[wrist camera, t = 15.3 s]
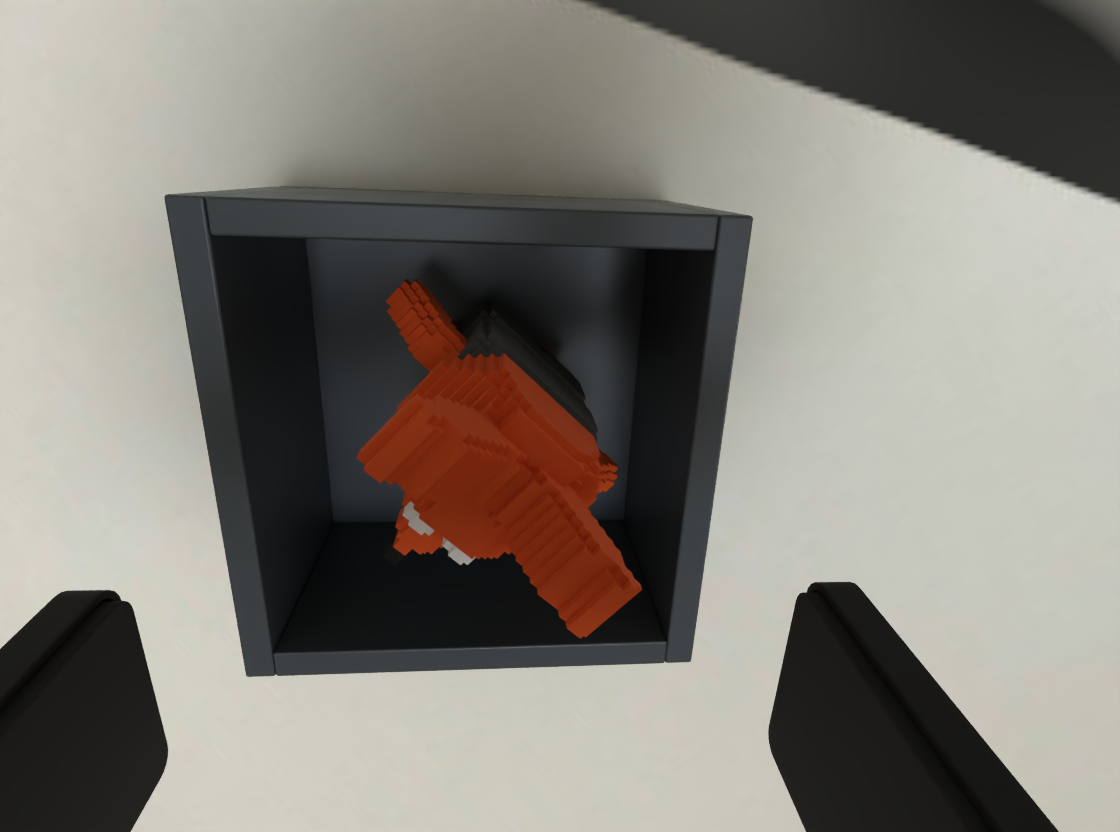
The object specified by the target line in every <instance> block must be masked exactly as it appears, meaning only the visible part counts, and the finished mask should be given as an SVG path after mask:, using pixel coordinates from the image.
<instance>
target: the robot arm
mask: <svg viewBox="0 0 1120 832" xmlns="http://www.w3.org/2000/svg"><path fill="white" fill-rule="evenodd" d="M769 744H770V748H771V752H772V755H773V757H774V760H775V762H776V764H777V767H778V769H779V771H780V773H781V776H782V778H783V780H784V782H785V785H786V787H787V789H788V792H789V794H790V796H791V798H792V801H793V803H794V805H795V807H796V810H797V812H798V814H799V816H800V819H801V821H802V823H803V826H804V828H805V830H806V832H1059V831H1058V830H1057V829H1056V828H1055V826H1054V825H1053V824H1052V823H1051V822H1050V820H1049V819H1048V818H1047V817H1046V815H1045V814H1044V813H1043V812H1042V811H1041V809H1040V808H1039V807H1038V806H1037V804H1036V803H1035V802H1034V801H1033V800H1032V798H1031V797H1030V796H1029V795H1028V793H1027V792H1026V791H1025V790H1024V788H1023V787H1022V786H1021V785H1020V784H1019V782H1018V781H1017V780H1016V779H1015V777H1014V776H1013V775H1012V774H1011V773H1010V771H1009V770H1008V769H1007V768H1006V766H1005V765H1004V764H1003V763H1002V762H1001V760H1000V759H999V758H998V757H997V755H996V754H995V753H994V752H993V751H992V749H991V748H990V747H989V746H988V744H987V743H986V742H985V741H984V739H983V738H982V737H981V736H980V735H979V733H978V732H977V731H976V730H975V728H974V727H973V726H972V725H971V724H970V722H969V721H968V720H967V719H966V717H965V716H964V715H963V714H962V713H961V711H960V710H959V709H958V708H957V706H956V705H955V704H954V703H953V701H952V700H951V699H950V698H949V697H948V695H947V694H946V693H945V692H944V690H943V689H942V688H941V687H940V686H939V684H938V683H937V682H936V681H935V679H934V678H933V677H932V676H931V675H930V673H929V672H928V671H927V670H926V668H925V667H924V666H923V665H922V664H921V662H920V661H919V660H918V659H917V657H916V656H915V655H914V654H913V652H912V651H911V650H910V649H909V648H908V646H907V645H906V644H905V643H904V641H903V640H902V639H901V638H900V637H899V635H898V634H897V633H896V632H895V630H894V629H893V628H892V627H891V626H890V624H889V623H888V622H887V621H886V619H885V618H884V617H883V616H882V615H881V613H880V612H879V611H878V610H877V608H876V607H875V606H874V605H873V603H872V602H871V601H870V600H869V599H868V597H867V596H866V595H865V594H864V592H863V591H862V590H861V589H860V588H859V587H858V586H857V585H856V584H855V583H852V582H815V583H812V584H811V585H810V586H809V588H808V590H807V593H800V594H799V595H798V597H797V600H796V604H795V608H794V613H793V618H792V622H791V627H790V631H789V636H788V641H787V645H786V650H785V655H784V659H783V664H782V669H781V673H780V678H779V683H778V687H777V692H776V696H775V701H774V706H773V710H772V715H771V720H770V724H769ZM167 757H168V746H167V741H166V737H165V733H164V729H163V725H162V721H161V717H160V713H159V709H158V705H157V701H156V698H155V694H154V690H153V686H152V682H151V678H150V674H149V670H148V666H147V662H146V658H145V654H144V650H143V646H142V642H141V638H140V634H139V630H138V626H137V622H136V618H135V615H134V611H133V608H132V606H131V604H130V603H129V602H126V601H121V599H120V596H119V595H118V594H117V593H116V592H114V591H110V590H89V591H65V592H61V593H60V594H58V595H57V596H55V597H54V598H53V599H52V600H51V601H50V602H49V603H48V604H47V605H46V606H45V607H44V608H42V609H41V610H40V611H39V612H38V613H37V614H36V615H35V616H34V617H33V618H32V619H31V620H30V621H29V622H28V623H27V624H26V625H25V626H24V627H23V628H22V629H21V630H20V631H19V632H17V633H16V634H15V635H14V636H13V637H12V638H11V639H10V640H9V641H8V642H7V643H6V644H5V645H4V646H3V647H2V648H1V649H0V832H130V831H131V830H132V828H133V826H134V824H135V823H136V821H137V819H138V817H139V816H140V814H141V812H142V810H143V808H144V807H145V805H146V803H147V801H148V800H149V798H150V796H151V794H152V793H153V791H154V789H155V787H156V785H157V784H158V782H159V780H160V778H161V776H162V774H163V772H164V769H165V766H166V762H167Z"/></svg>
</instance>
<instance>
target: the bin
mask: <svg viewBox="0 0 1120 832" xmlns="http://www.w3.org/2000/svg"><path fill="white" fill-rule="evenodd" d="M165 204H166V209H167V215H168V221H169V227H170V233H171V239H172V245H173V250H174V256H175V262H176V268H177V274H178V280H179V285H180V291H181V297H182V303H183V309H184V315H185V320H186V326H187V332H188V338H189V344H190V350H191V355H192V361H193V367H194V373H195V379H196V385H197V391H198V396H199V402H200V408H201V414H202V420H203V426H204V431H205V437H206V443H207V449H208V455H209V461H210V466H211V472H212V478H213V484H214V490H215V496H216V501H217V507H218V513H219V519H220V525H221V531H222V537H223V542H224V548H225V554H226V560H227V566H228V572H229V577H230V583H231V589H232V595H233V601H234V607H235V612H236V618H237V624H238V630H239V636H240V642H241V647H242V653H243V659H244V665H245V671H246V676H248V677H254V676H274V675H277V676H287V675H317V674H347V673H378V672H408V671H438V670H468V669H498V668H529V667H559V666H589V665H619V664H649V663H664V661H665V662H667V663H673V662H690V661H691V657H692V649H693V642H694V635H695V628H696V621H697V614H698V607H699V599H700V592H701V585H702V578H703V571H704V564H705V557H706V550H707V542H708V535H709V528H710V521H711V514H712V507H713V500H714V492H715V485H716V478H717V471H718V464H719V457H720V450H721V443H722V435H723V428H724V421H725V414H726V407H727V400H728V393H729V385H730V378H731V371H732V364H733V357H734V350H735V343H736V336H737V328H738V321H739V314H740V307H741V300H742V293H743V286H744V278H745V271H746V264H747V257H748V250H749V243H750V236H751V229H752V221H753V218H752V217H751V216H749V215H743V214H738V213H732V212H726V211H721V210H715V209H710V208H704V207H699V206H693V205H687V204H682V203H676V202H670V201H657V200H631V199H605V198H579V197H553V196H527V195H501V194H475V193H449V192H422V191H396V190H370V189H344V188H318V187H292V186H280V187H265V188H251V189H237V190H223V191H209V192H195V193H181V194H168V195H165ZM406 279H407V280H408V281H409V282H411V283H413V282H414V281H415V280H416V279H418V280H419V281H420V282H421V283H422V284H423V285H424V286H425V287H426V288H427V289H428V290H429V291H431V292H432V293H433V294H432V295H433V296H434V297H435V298H436V299H437V302H438V303H439V304H440V305H442V308H443V309H444V310H445V311H446V312H447V315H448V316H449V317H450V318H451V319H452V321H451V323H452V324H453V325H455V324H456V323H457V322H458V323H459V324H461V323H462V322H463V321H464V320H465V319H466V318H467V317H468V316H469V315H470V314H471V313H472V312H473V311H474V310H475V309H476V308H477V307H478V306H479V305H480V304H482V302H483V301H484V300H485V301H486V302H488V303H491V302H492V301H493V300H494V301H495V302H496V303H500V304H501V305H502V306H503V307H504V308H505V309H506V310H507V312H508V313H509V314H510V315H511V316H512V317H513V318H514V319H515V320H516V321H518V322H519V323H520V324H521V325H522V326H523V327H524V328H525V329H526V330H527V331H528V332H529V334H530V338H531V339H533V340H534V342H535V344H536V345H538V346H539V347H540V348H541V349H543V348H544V347H545V348H546V349H547V350H548V351H549V352H551V353H552V355H553V356H554V357H555V358H556V359H557V360H558V361H559V362H560V363H561V364H562V365H563V366H564V367H565V368H566V369H568V370H569V371H570V372H571V373H572V374H573V375H574V376H575V378H576V379H577V380H578V381H579V382H580V384H581V387H582V389H583V392H584V394H585V397H586V398H585V399H584V400H583V401H584V403H585V405H586V407H587V408H588V409H589V410H590V411H591V413H592V415H593V418H594V421H595V423H596V426H597V428H598V431H599V432H598V433H597V434H596V436H597V439H598V442H597V443H596V444H597V447H598V449H599V450H601V451H602V452H604V453H606V454H607V455H608V456H609V457H610V458H611V459H612V460H613V461H614V462H615V463H616V464H617V466H618V470H617V471H616V473H617V475H618V477H617V478H616V479H615V480H614V483H615V484H614V485H613V486H612V487H611V488H609V489H608V490H607V491H606V492H605V491H604V490H603V491H602V492H601V493H599V492H598V494H597V495H596V499H597V500H596V501H595V502H594V503H592V504H591V505H590V506H589V507H588V509H589V510H590V512H591V515H592V516H593V517H594V518H595V519H596V520H597V521H598V524H599V526H600V527H602V528H603V529H604V530H605V532H606V535H607V536H608V537H609V538H610V539H611V540H612V541H613V544H614V546H615V547H616V548H617V549H619V550H620V551H621V555H622V558H623V561H624V564H625V567H626V568H627V569H628V570H630V571H631V572H632V574H633V577H634V579H635V580H636V581H638V582H639V583H640V585H641V588H642V590H641V591H640V592H639V593H637V594H636V595H635V596H634V597H633V598H632V599H630V600H629V601H628V602H627V603H626V604H625V605H623V606H622V607H621V608H620V609H619V610H617V611H616V612H615V613H614V614H613V615H612V616H610V617H609V618H608V619H607V620H606V621H605V622H603V623H602V624H601V625H600V626H599V627H597V628H596V629H595V630H594V631H593V632H592V633H590V634H589V635H588V636H587V637H585V636H583V637H582V638H581V639H580V638H579V637H577V636H576V635H575V634H573V633H572V632H571V631H570V630H568V629H567V627H566V622H565V621H564V620H563V619H561V618H560V617H559V613H558V610H557V609H556V608H555V607H553V606H552V605H551V604H549V603H548V602H547V601H546V600H544V599H543V598H542V597H541V596H539V595H538V593H537V588H536V587H535V586H534V585H532V584H531V583H530V577H529V576H528V575H526V574H525V573H524V572H523V566H522V565H520V564H519V563H518V562H517V561H516V555H514V554H513V553H512V552H511V553H510V554H507V553H506V552H504V553H503V554H502V555H501V556H500V557H499V558H498V559H496V558H495V557H494V558H493V559H490V558H489V557H487V558H486V559H484V558H483V557H481V558H480V559H477V558H475V559H474V560H473V561H472V562H470V563H469V564H468V565H466V564H465V563H463V564H462V565H460V564H458V563H457V562H456V561H454V560H453V559H452V558H450V557H449V556H448V550H447V549H446V548H444V547H443V548H440V547H439V548H438V549H437V550H435V551H434V552H433V553H432V554H430V553H429V552H428V551H427V552H426V553H425V554H424V553H422V554H421V555H420V554H419V553H417V552H416V551H415V550H413V549H412V550H411V551H410V552H408V553H407V554H406V555H405V556H404V557H403V558H402V559H401V560H400V561H399V562H398V563H397V564H396V565H393V564H392V563H391V562H389V561H388V560H387V559H385V558H384V557H383V554H384V551H385V548H386V547H387V546H388V545H389V544H390V543H391V542H392V541H393V540H394V539H395V538H396V535H397V531H398V529H397V528H396V527H395V525H396V522H397V519H398V515H399V512H400V510H401V509H402V508H403V507H404V506H403V505H402V501H403V498H404V494H405V491H403V490H402V487H400V486H399V485H398V484H397V483H395V482H394V483H393V484H392V485H390V484H389V483H387V482H386V481H385V480H384V481H383V482H382V483H381V484H380V483H379V482H378V481H377V480H375V479H374V478H373V477H371V476H370V475H369V474H367V473H366V472H365V471H364V470H363V469H364V466H365V465H364V464H363V463H362V462H360V461H359V460H358V459H357V456H358V454H359V452H360V450H361V448H362V447H363V446H364V445H365V444H366V443H367V442H368V441H369V440H370V439H371V438H372V437H373V436H374V435H375V434H376V433H377V432H378V431H379V430H380V429H381V428H382V427H383V426H384V425H385V424H386V423H387V422H388V421H389V420H390V419H391V418H392V417H393V416H394V414H395V413H396V412H397V411H396V410H397V408H398V405H399V404H400V403H401V402H402V401H403V400H404V399H405V398H406V397H407V396H408V395H409V394H410V393H411V392H412V391H413V390H414V388H415V387H416V386H417V385H418V384H419V383H420V382H421V381H422V380H423V379H424V378H425V377H426V376H427V375H428V374H429V370H428V369H427V368H425V367H424V366H423V365H422V364H421V363H420V362H419V361H417V360H416V359H415V358H414V357H413V356H412V355H413V353H412V352H410V351H409V350H408V349H407V348H408V346H409V344H408V343H406V342H405V341H404V337H403V336H402V335H400V334H399V332H400V330H401V329H400V328H398V327H397V326H396V325H395V324H396V322H395V321H393V320H392V319H391V317H392V316H391V315H389V314H388V313H387V310H388V309H389V308H390V307H391V306H390V305H389V304H388V303H386V300H387V299H388V298H389V297H390V296H391V295H392V294H393V293H394V292H395V291H396V289H397V288H398V287H399V286H400V285H401V284H402V283H403V282H404V281H405V280H406Z"/></svg>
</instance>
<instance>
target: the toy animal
mask: <svg viewBox="0 0 1120 832" xmlns="http://www.w3.org/2000/svg"><path fill="white" fill-rule="evenodd" d="M432 294H433V293H432V292H431V291H429V290H428V289H427V288H426V287H425V286H424V285H423V284H422V283H421V282H420V281H419V280H418V279H416V280H415V281H414V282H413V283H411V282H409V281H408V280H407V279H406V280H405V281H404V282H403V283H402V284H401V285H400V286H399V287H398V288H397V289H396V291H395V292H394V293H393V294H392V295H391V296H390V297H389V298H388V299H387V300H386V303H388V304H389V305H390V306H391V307H390V308H389V309H388V310H387V313H388V314H389V315H391V316H392V317H391V319H392V320H393V321H395V322H396V324H395V325H396V326H397V327H398V328H400V329H401V330H400V332H399V334H400V335H402V336H403V337H404V341H405V342H406V343H408V344H409V346H408V348H407V349H408V350H409V351H410V352H412V353H413V355H412V356H413V357H414V358H415V359H416V360H417V361H419V362H420V363H421V364H422V365H423V366H424V367H425V368H427V369H428V370H429V374H428V375H427V376H426V377H425V378H424V379H423V380H422V381H421V382H420V383H419V384H418V385H417V386H416V387H415V388H414V390H413V391H412V392H411V393H410V394H409V395H408V396H407V397H406V398H405V399H404V400H403V401H402V402H401V403H400V404H399V405H398V408H397V410H396V411H397V412H396V413H395V414H394V416H393V417H392V418H391V419H390V420H389V421H388V422H387V423H386V424H385V425H384V426H383V427H382V428H381V429H380V430H379V431H378V432H377V433H376V434H375V435H374V436H373V437H372V438H371V439H370V440H369V441H368V442H367V443H366V444H365V445H364V446H363V447H362V448H361V450H360V452H359V454H358V456H357V459H358V460H359V461H360V462H362V463H363V464H364V465H365V466H364V469H363V470H364V471H365V472H366V473H367V474H369V475H370V476H371V477H373V478H374V479H375V480H377V481H378V482H379V483H380V484H381V483H382V482H383V481H384V480H385V481H386V482H387V483H389V484H390V485H392V484H393V483H394V482H395V483H397V484H398V485H399V486H400V487H402V490H403V491H405V494H404V498H403V501H402V505H403V506H404V507H403V508H402V509H401V510H400V512H399V515H398V519H397V522H396V525H395V527H396V528H397V529H398V531H397V535H396V538H395V539H394V540H393V541H392V542H391V543H390V544H389V545H388V546H387V547H386V548H385V551H384V554H383V557H384V558H385V559H387V560H388V561H389V562H391V563H392V564H393V565H396V564H397V563H398V562H399V561H400V560H401V559H402V558H403V557H404V556H405V555H406V554H407V553H408V552H410V551H411V550H412V549H413V550H415V551H416V552H417V553H419V554H420V555H421V554H422V553H424V554H425V553H426V552H427V551H428V552H429V553H430V554H432V553H433V552H434V551H435V550H437V549H438V548H439V547H440V548H443V547H444V548H446V549H447V550H448V556H449V557H450V558H452V559H453V560H454V561H456V562H457V563H458V564H460V565H462V564H463V563H465V564H466V565H468V564H469V563H470V562H472V561H473V560H474V559H475V558H477V559H480V558H481V557H483V558H484V559H486V558H487V557H489V558H490V559H493V558H494V557H495V558H496V559H498V558H499V557H500V556H501V555H502V554H503V553H504V552H506V553H507V554H510V553H511V552H512V553H513V554H514V555H516V561H517V562H518V563H519V564H520V565H522V566H523V572H524V573H525V574H526V575H528V576H529V577H530V583H531V584H532V585H534V586H535V587H536V588H537V593H538V595H539V596H541V597H542V598H543V599H544V600H546V601H547V602H548V603H549V604H551V605H552V606H553V607H555V608H556V609H557V610H558V613H559V617H560V618H561V619H563V620H564V621H565V622H566V627H567V629H568V630H570V631H571V632H572V633H573V634H575V635H576V636H577V637H579V638H580V639H581V638H582V637H583V636H585V637H587V636H588V635H589V634H590V633H592V632H593V631H594V630H595V629H596V628H597V627H599V626H600V625H601V624H602V623H603V622H605V621H606V620H607V619H608V618H609V617H610V616H612V615H613V614H614V613H615V612H616V611H617V610H619V609H620V608H621V607H622V606H623V605H625V604H626V603H627V602H628V601H629V600H630V599H632V598H633V597H634V596H635V595H636V594H637V593H639V592H640V591H641V590H642V588H641V585H640V583H639V582H638V581H636V580H635V579H634V577H633V574H632V572H631V571H630V570H628V569H627V568H626V567H625V564H624V561H623V558H622V555H621V551H620V550H619V549H617V548H616V547H615V546H614V544H613V541H612V540H611V539H610V538H609V537H608V536H607V535H606V532H605V530H604V529H603V528H602V527H600V526H599V524H598V521H597V520H596V519H595V518H594V517H593V516H592V515H591V512H590V510H589V509H588V507H589V506H590V505H591V504H592V503H594V502H595V501H596V500H597V499H596V495H597V494H598V492H599V493H601V492H602V491H603V490H604V491H605V492H606V491H607V490H608V489H609V488H611V487H612V486H613V485H614V484H615V483H614V480H615V479H616V478H617V477H618V475H617V473H616V471H617V470H618V466H617V464H616V463H615V462H614V461H613V460H612V459H611V458H610V457H609V456H608V455H607V454H606V453H604V452H602V451H601V450H599V449H598V447H597V444H596V443H597V442H598V439H597V436H596V434H597V433H598V432H599V431H598V428H597V426H596V423H595V421H594V418H593V415H592V413H591V411H590V410H589V409H588V408H587V407H586V405H585V403H584V401H583V400H584V399H585V398H586V397H585V394H584V392H583V389H582V387H581V384H580V382H579V381H578V380H577V379H576V378H575V376H574V375H573V374H572V373H571V372H570V371H569V370H568V369H566V368H565V367H564V366H563V365H562V364H561V363H560V362H559V361H558V360H557V359H556V358H555V357H554V356H553V355H552V353H551V352H549V351H548V350H547V349H546V348H545V347H544V348H543V349H541V348H540V347H539V346H538V345H536V344H535V342H534V340H533V339H531V338H530V334H529V332H528V331H527V330H526V329H525V328H524V327H523V326H522V325H521V324H520V323H519V322H518V321H516V320H515V319H514V318H513V317H512V316H511V315H510V314H509V313H508V312H507V310H506V309H505V308H504V307H503V306H502V305H501V304H500V303H496V302H495V301H494V300H493V301H492V302H491V303H488V302H486V301H485V300H484V301H483V302H482V304H480V305H479V306H478V307H477V308H476V309H475V310H474V311H473V312H472V313H471V314H470V315H469V316H468V317H467V318H466V319H465V320H464V321H463V322H462V323H461V324H459V323H458V322H457V323H456V324H455V325H453V324H452V323H451V321H452V319H451V318H450V317H449V316H448V315H447V312H446V311H445V310H444V309H443V308H442V305H440V304H439V303H438V302H437V299H436V298H435V297H434V296H433V295H432Z"/></svg>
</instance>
